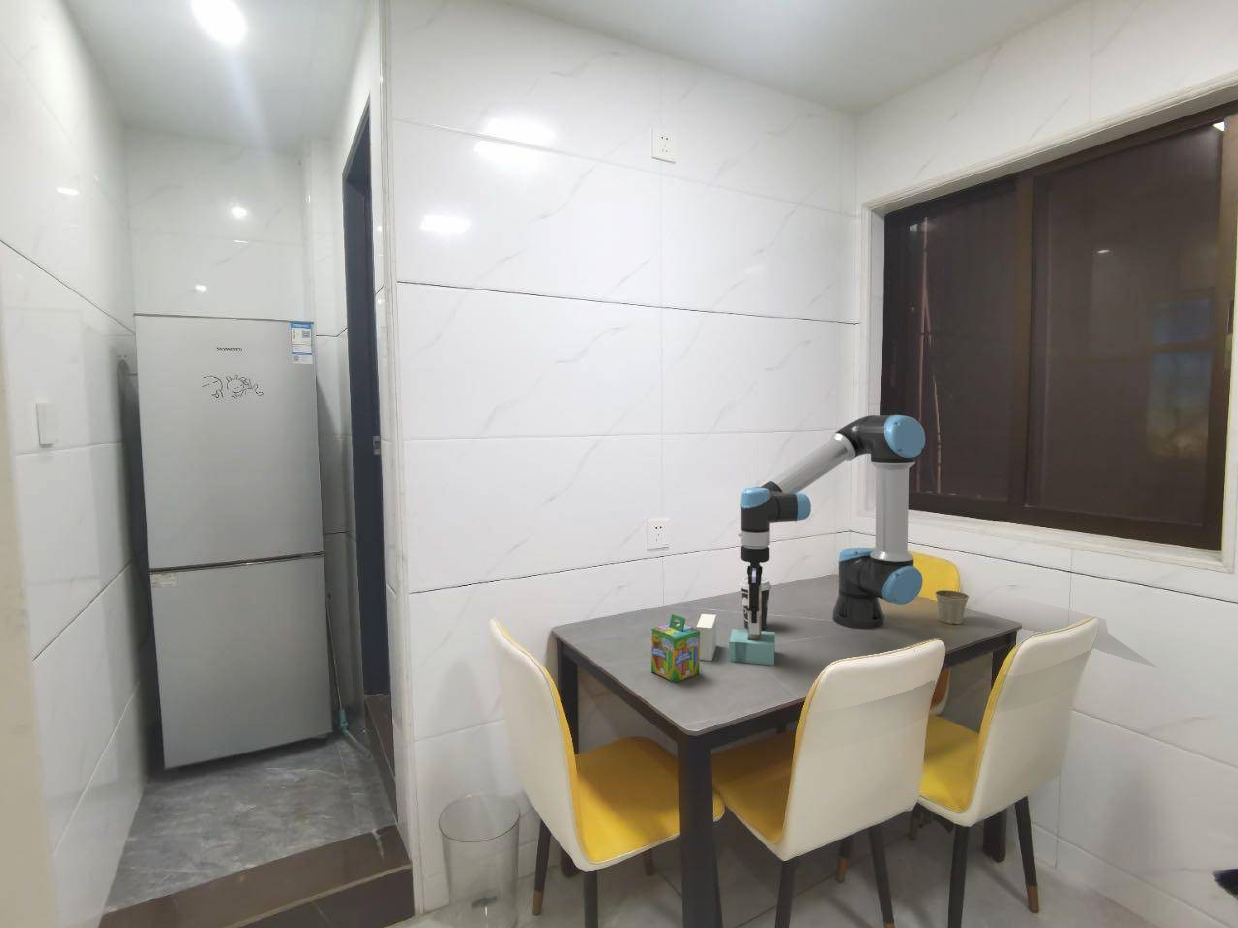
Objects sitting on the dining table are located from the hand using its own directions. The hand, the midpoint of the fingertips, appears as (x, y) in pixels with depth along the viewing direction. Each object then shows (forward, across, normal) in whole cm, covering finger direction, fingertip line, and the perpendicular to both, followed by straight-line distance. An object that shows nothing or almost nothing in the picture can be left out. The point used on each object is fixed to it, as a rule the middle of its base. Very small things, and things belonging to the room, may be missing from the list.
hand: (754, 630), depth 165 cm
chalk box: (+8, +15, -19) cm, 25 cm away
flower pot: (+7, -42, +58) cm, 72 cm away
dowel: (+3, 0, 0) cm, 3 cm away
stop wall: (+7, 0, -13) cm, 15 cm away
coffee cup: (+7, -23, -1) cm, 24 cm away
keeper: (+7, 0, 0) cm, 7 cm away
